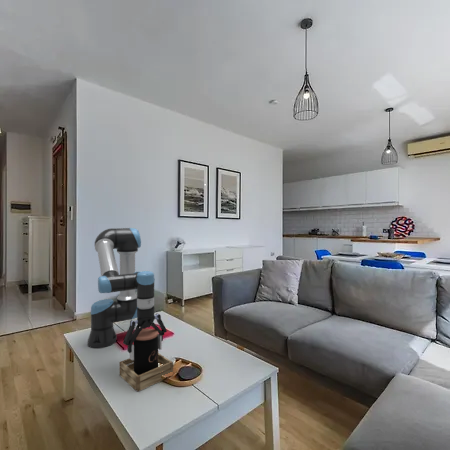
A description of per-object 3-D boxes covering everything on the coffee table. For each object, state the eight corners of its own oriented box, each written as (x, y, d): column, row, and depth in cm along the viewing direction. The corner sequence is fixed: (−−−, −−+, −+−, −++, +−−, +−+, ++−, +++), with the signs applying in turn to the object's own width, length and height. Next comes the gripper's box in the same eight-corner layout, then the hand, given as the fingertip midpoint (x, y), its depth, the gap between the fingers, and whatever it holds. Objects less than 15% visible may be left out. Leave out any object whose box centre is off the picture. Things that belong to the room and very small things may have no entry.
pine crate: (119, 375, 125) (119, 361, 125) (153, 361, 137) (153, 349, 136) (137, 391, 113) (137, 377, 112) (172, 375, 125) (172, 362, 124)
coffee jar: (151, 381, 118) (151, 339, 118) (128, 378, 120) (128, 337, 120) (162, 367, 129) (162, 329, 128) (141, 365, 131) (140, 327, 130)
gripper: (122, 315, 113) (122, 367, 113) (174, 302, 130) (174, 347, 130) (114, 311, 118) (114, 360, 118) (165, 299, 135) (165, 342, 136)
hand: (146, 353), depth 124 cm, fingers open, 13 cm apart
